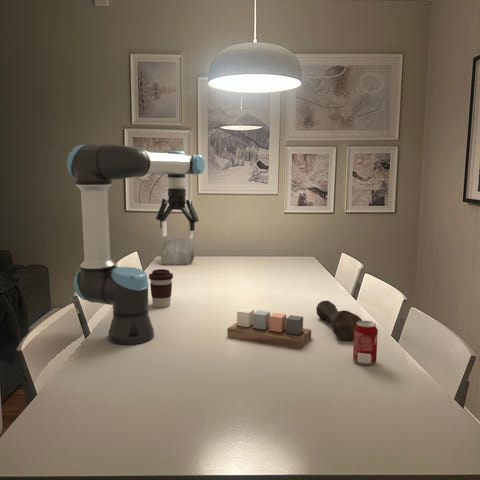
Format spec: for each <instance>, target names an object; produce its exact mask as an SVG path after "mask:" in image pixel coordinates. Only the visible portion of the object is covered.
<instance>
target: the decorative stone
mask: <svg viewBox="0 0 480 480" xmlns="http://www.w3.org/2000/svg"><path fill="white" fill-rule="evenodd" d="M194 259H195V246H194V243H192V242H191V241H190V240H188V239H186V238H183V237H179V236H170V237H168V238H166V240H165V241H164V242H163V244H162V246H161V250H160V260H161V264H163V265H166V266H189V265H190V264H192V263H193V262H194Z"/></svg>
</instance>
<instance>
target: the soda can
mask: <svg viewBox="0 0 480 480" xmlns="http://www.w3.org/2000/svg"><path fill="white" fill-rule="evenodd" d="M376 325H377V324H376V323H375V322H374V321H372V320H371V321H370V320H362V321H358V322H357V325H356V326H355V328H354V341H353V348H352V350H353V353H352V354H353V355H352V360H353V361H354V362H355V363H356V364H358V365H361V366H371V365H374V364H376V363H377V357H378V356H377V354H378V353H377V352H378V333H379V331H378V328H377V326H376Z"/></svg>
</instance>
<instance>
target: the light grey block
mask: <svg viewBox="0 0 480 480" xmlns="http://www.w3.org/2000/svg"><path fill="white" fill-rule="evenodd" d="M270 315H271V312H270V311H264V310H257V311H254V313H253V328H257V329H263V330H265V329H266V328H268V327H269V316H270Z"/></svg>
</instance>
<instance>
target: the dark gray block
mask: <svg viewBox="0 0 480 480" xmlns="http://www.w3.org/2000/svg"><path fill="white" fill-rule="evenodd" d="M303 328H304V316H301V315H294V314H290V315H289V316H287V317H286V333H289V334H295V335H299V334H300V333H301V332H302V331H303Z"/></svg>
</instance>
